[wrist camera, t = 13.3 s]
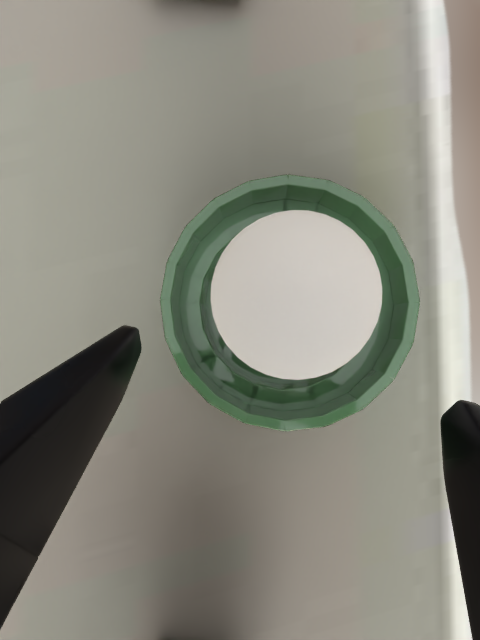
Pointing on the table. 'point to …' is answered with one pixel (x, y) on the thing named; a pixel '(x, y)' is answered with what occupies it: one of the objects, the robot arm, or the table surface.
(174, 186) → the table surface
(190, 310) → the bowl
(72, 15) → the table surface
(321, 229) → the light bulb
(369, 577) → the table surface
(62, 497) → the robot arm
